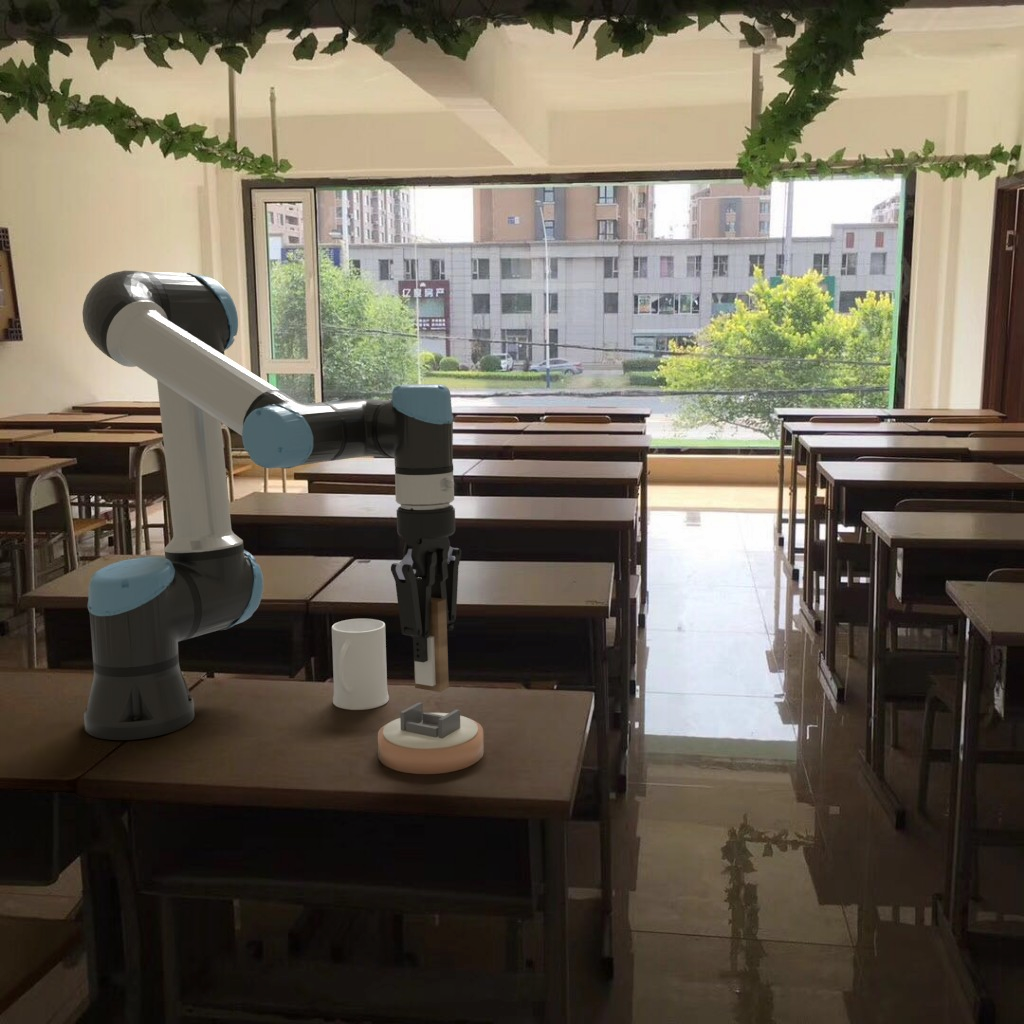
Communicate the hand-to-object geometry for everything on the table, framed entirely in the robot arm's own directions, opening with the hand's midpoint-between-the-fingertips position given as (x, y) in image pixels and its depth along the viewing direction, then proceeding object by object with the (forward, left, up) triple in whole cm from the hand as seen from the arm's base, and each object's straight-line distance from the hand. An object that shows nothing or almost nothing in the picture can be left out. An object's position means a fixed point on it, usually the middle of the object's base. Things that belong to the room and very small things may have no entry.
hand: (431, 680), depth 142 cm
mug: (-21, +11, -10) cm, 26 cm away
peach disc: (0, 0, -10) cm, 10 cm away
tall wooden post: (0, 0, -1) cm, 1 cm away
